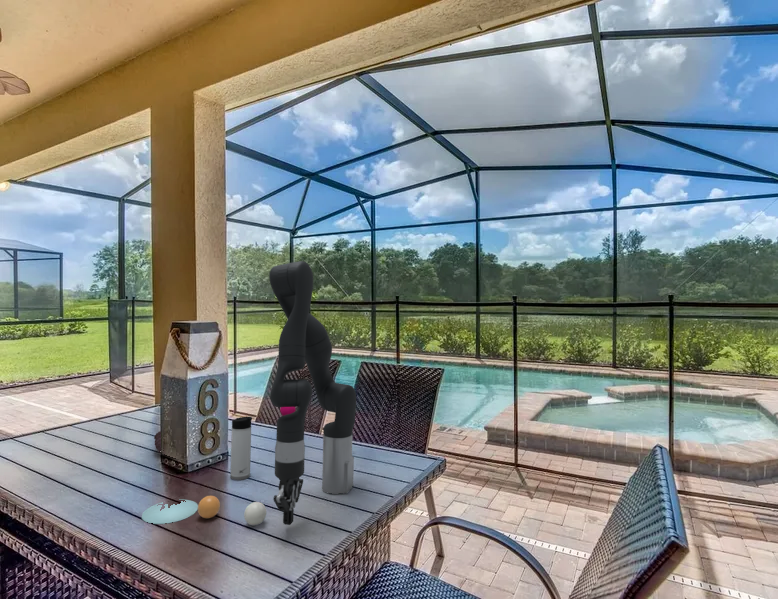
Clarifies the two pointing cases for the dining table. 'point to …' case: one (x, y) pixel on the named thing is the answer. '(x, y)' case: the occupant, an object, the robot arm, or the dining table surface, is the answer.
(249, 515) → the cue ball
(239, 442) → the travel mug
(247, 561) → the dining table surface
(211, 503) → the object ball
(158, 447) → the pine cone
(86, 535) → the dining table surface
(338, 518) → the dining table surface
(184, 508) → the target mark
